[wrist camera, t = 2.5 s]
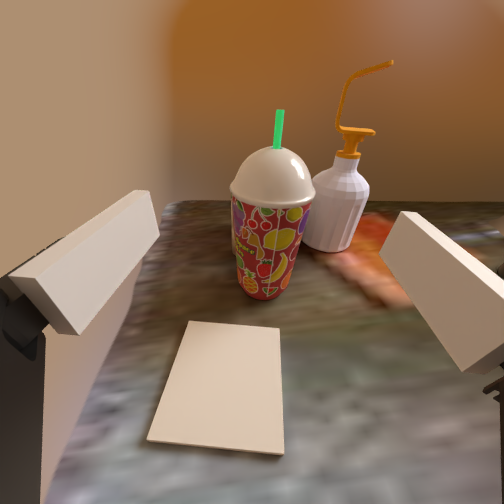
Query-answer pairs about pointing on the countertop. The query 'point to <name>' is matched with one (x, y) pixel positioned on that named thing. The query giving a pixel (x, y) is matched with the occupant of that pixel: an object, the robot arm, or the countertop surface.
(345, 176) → the soap bottle
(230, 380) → the plate
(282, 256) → the smoothie
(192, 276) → the countertop surface
